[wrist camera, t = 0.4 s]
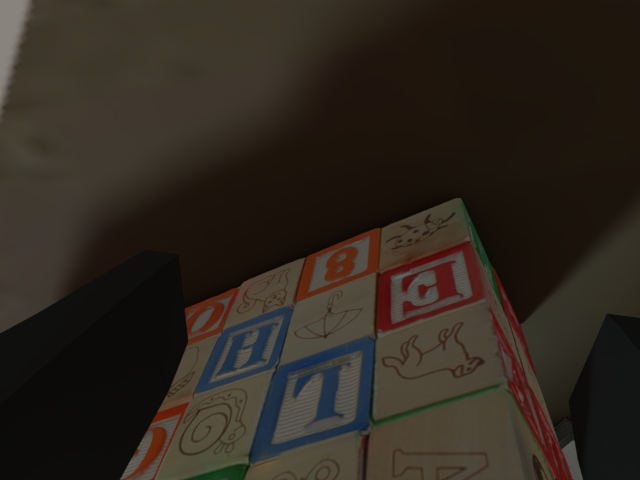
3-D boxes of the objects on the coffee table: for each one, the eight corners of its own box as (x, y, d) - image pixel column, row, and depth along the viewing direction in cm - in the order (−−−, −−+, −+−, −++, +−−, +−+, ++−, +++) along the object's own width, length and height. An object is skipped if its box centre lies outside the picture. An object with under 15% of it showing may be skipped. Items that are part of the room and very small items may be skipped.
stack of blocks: (114, 450, 28) (-62, 769, 17) (32, 366, 25) (-232, 677, 15) (524, 324, 20) (657, 742, 10) (464, 189, 18) (553, 552, 8)
